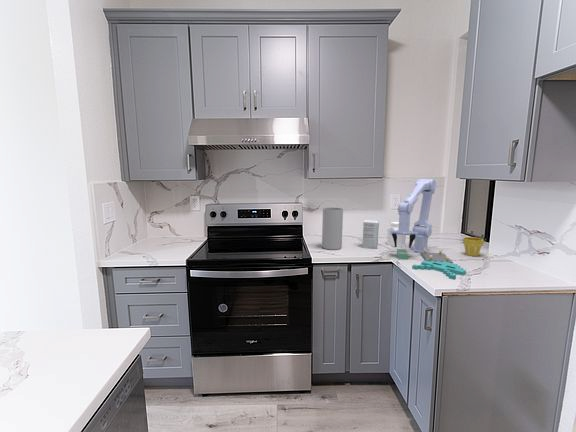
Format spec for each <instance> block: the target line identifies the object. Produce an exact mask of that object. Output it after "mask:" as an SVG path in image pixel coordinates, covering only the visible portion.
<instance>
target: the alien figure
mask: <svg viewBox="0 0 576 432" xmlns="http://www.w3.org/2000/svg"><path fill="white" fill-rule="evenodd" d="M411 266H412V269H413V270H415V271H416V270H421V271H424V270H426V271H431V270H432V271H437V272H440V273H442V274H444V275H445V276H446V277H447V278H448V279H450V280H456V278H457V275H459V276H464V275H466V274H467V270H466V269H464V267H461V266H460V265H458V263H454V262H453V263H449V262H445V261H444V262H440V261H437V262H435V261H430V262H429V261H425V260H423V261H421V263H420V264H415V263H414V264H412V265H411Z"/></svg>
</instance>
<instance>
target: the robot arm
mask: <svg viewBox="0 0 576 432" xmlns="http://www.w3.org/2000/svg"><path fill="white" fill-rule="evenodd" d="M436 189H437V182H436V180H435V179H434V178H432V179H431V178H418V179H416V182H415V187H414V189H413V190H412V192H411V193H409V194H408V195H407V196H406V198H405V199H404V200H403V201H402V202H400V203H398V205H397V212H398V213H397V214H398V217H399V218H398V222H399V229H398V230H396V231H392V230H390V234H392V236H393V239H394V243H395V247H394V248H398V247H397V235H396V234H398V235H406V236H409V243H408V248H409V249H411V248H412V250H413V251H414V253H415V252H416V253H420V252H424V249H427V251H426V252H429V250H428V241H429V238H430V237H431V236H432V233H433V232H432V231H433V230H432V229H433V227H432V224H431V223H430V222H429V221H428V220H429V216H430V209H431V205H432V198H433V195H434V194H435V192H436ZM421 194H422V199H421V206H420V212H419V218H418V220H417V221H415V222H414V224H413V226H412V230H411V231H410V226H411V225H410V224H411V213H412V212H413V210H414V207H415V204H416V203H417V202H418V200H419V199H418V197H419V195H421ZM400 233H401V234H400ZM412 245H413V247H412Z"/></svg>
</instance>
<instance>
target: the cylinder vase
mask: <svg viewBox="0 0 576 432" xmlns="http://www.w3.org/2000/svg"><path fill="white" fill-rule="evenodd" d="M343 220H344V208H342V207H323V208H322V228H321V229H322V234H321V247H322V248H323V249H325V250H330V251H334V250H341V249H342V248H343V246H342V245H343V226H344V225H343V223H344V221H343Z"/></svg>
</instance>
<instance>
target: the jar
mask: <svg viewBox="0 0 576 432" xmlns="http://www.w3.org/2000/svg"><path fill="white" fill-rule="evenodd" d="M398 229H399V221H391V222H390V226H389V227H388V229H387V240H386V241H387V242H386V245H387V244H388V246H390V245H392V246H391V247H393V246H394V248H404V247H406V241H407V240H406V236H407V235H398V234H396V235H397V247H395V243H394V239H393V236H392V234H390V230H392V231H396V230H398ZM400 234H401V233H400Z"/></svg>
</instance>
